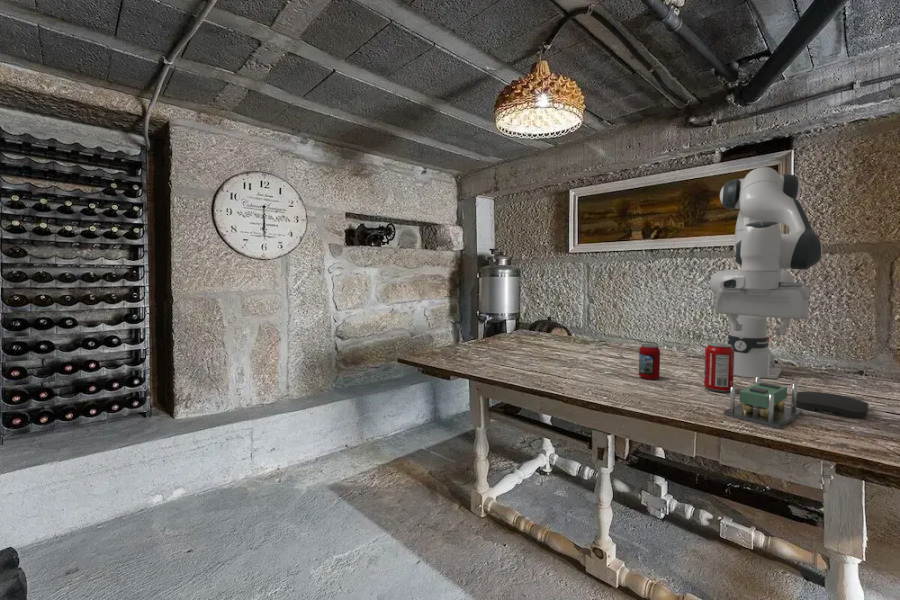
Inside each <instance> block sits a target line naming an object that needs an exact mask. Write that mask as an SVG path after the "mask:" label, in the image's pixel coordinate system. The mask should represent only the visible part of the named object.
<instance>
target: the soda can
mask: <svg viewBox="0 0 900 600" xmlns="http://www.w3.org/2000/svg"><path fill="white" fill-rule="evenodd" d="M703 372H704V374H703V376H704V377H703V379H704V380H703V385H704V387H705V388H706V389H708V390H709V391H712V390H713V391H712V392H716V391H719V392H718V393H728V392H731V387H734V376H735V375H734V350H733V348H732V345H730V344H728V343H722V342H709V343H707V346H706V347H705V349H704V371H703Z"/></svg>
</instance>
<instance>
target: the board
mask: <svg viewBox="0 0 900 600" xmlns="http://www.w3.org/2000/svg"><path fill="white" fill-rule="evenodd" d="M770 394H771V395H774V404H776V403H778V402H780V401H782V400H784V399H785V400H786V399H787V398H788V386H782V385H778V384H772V383H767V382H762V381H760V383H758V384H755V383H754V384H753V385H751V386H749V387H745V388H744V389H741V390H739V403H740V404H741V403H745V404H750V405H754V406H758V407H763V408H769V395H770Z"/></svg>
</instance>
